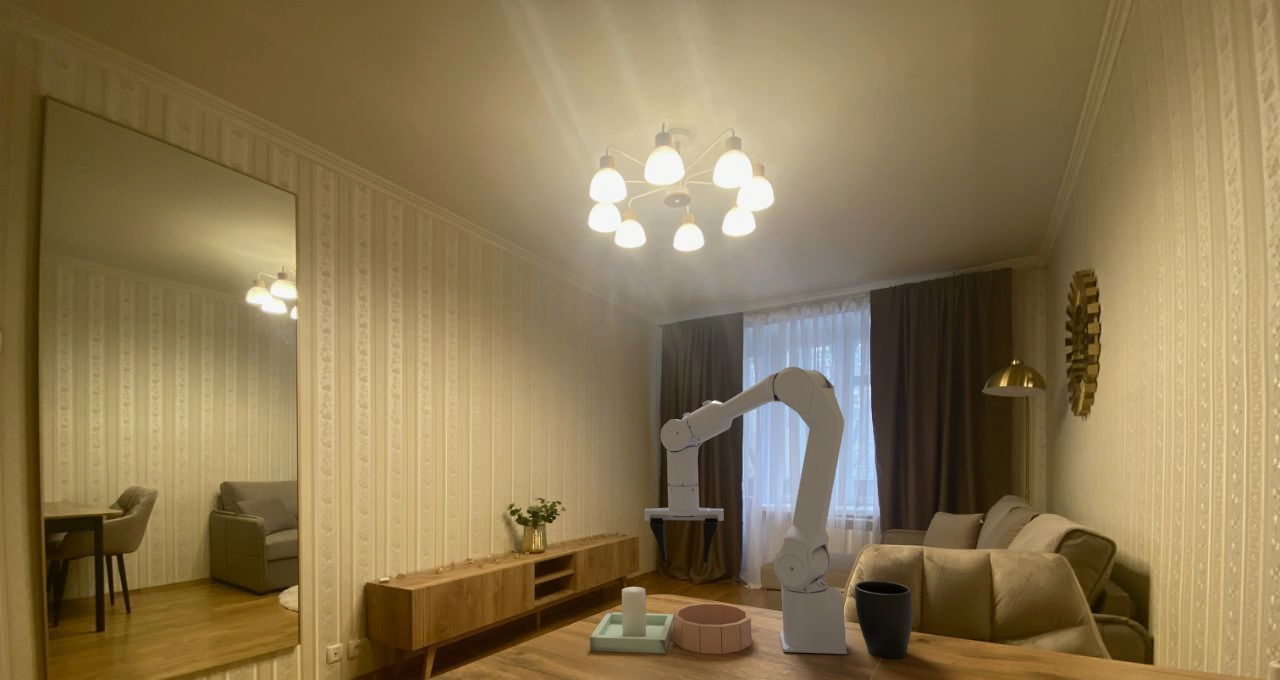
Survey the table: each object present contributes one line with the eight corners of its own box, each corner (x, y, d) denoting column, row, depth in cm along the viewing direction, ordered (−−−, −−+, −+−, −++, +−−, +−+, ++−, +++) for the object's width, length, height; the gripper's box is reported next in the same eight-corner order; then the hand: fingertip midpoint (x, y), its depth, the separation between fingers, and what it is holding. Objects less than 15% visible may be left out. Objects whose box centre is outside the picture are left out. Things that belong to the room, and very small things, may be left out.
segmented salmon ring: (750, 628, 105) (749, 603, 105) (752, 655, 92) (751, 627, 93) (678, 625, 107) (677, 601, 107) (670, 652, 94) (669, 624, 95)
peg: (647, 630, 103) (647, 587, 104) (644, 638, 99) (643, 593, 100) (624, 629, 103) (624, 586, 104) (620, 637, 99) (619, 593, 100)
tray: (674, 626, 106) (673, 614, 107) (665, 653, 94) (665, 639, 94) (607, 623, 108) (607, 612, 109) (590, 650, 96) (590, 637, 96)
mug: (904, 636, 99) (900, 575, 101) (922, 664, 88) (916, 595, 89) (852, 633, 101) (848, 574, 103) (862, 660, 90) (858, 593, 91)
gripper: (722, 482, 115) (725, 556, 113) (647, 483, 117) (649, 555, 116) (722, 486, 108) (724, 565, 106) (642, 486, 111) (643, 564, 109)
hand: (685, 561), depth 111 cm, fingers open, 7 cm apart
